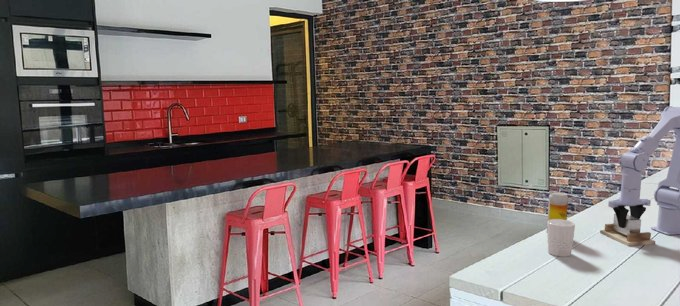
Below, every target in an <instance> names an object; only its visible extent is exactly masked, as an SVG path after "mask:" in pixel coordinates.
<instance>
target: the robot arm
mask: <svg viewBox="0 0 680 306" xmlns="http://www.w3.org/2000/svg"><path fill="white" fill-rule="evenodd" d="M670 131H673V132H674V133H675V135H676V138H675V141H674V146H673V150H672V153H671V158H670V163H669V167H668V171H667V175H666V178H664V179H663V180H661V181H659V182H658V185H657V187H656V189H655V191H654V194H653V197H654V201H655V202H656V206H658V213H657V214H658V215H657V223H656V226H651V227H650V229H652V230H654V231H657V232H659V233H661V234H665V235H668V236H672V235H680V106H678V107H677V106H671V105H669V106H666V107H665V108H664V109H663V111H662V112H661V113H660V120H659V121H658V123H657V124H656V125H655V126H654V128H653V129H652V131H651V132H650V133H649V135H643V136H642V137H641V138H640V139H639V140H638V141H637V143H636V144H635V145H634V146H633V147H632V148H631V149H630V150H629V151H626V152H624V153H622V154H621V156H620V158H619V160H618V164H619V167H620V172H621V174H622V175H621V186H620V197H619V198H618V199H613V200H608V205H607V206H608V207H609V208H612V210H613V211H614V214H616V216H617V220H618V225H619V227H621V228H624V227H625V223H626V217H627V215H630V216H632V217H635V218H638V219H640V220H641V218H642V215H643V214H644V213H645V212H646V210H647V206H648V207H650V206H651V199H649V198H640V197H641V189H642V188H641V186H642V177H643V171H644V170H646V168H647V166H648V161H650V157H651V156H652V155H653V154H654V153H655V151H657V149H658V148H659V141H661V139H663V138H664V137H665V136H666V135H667V134H668V133H669V132H670ZM645 206H646V207H645ZM626 207H628V208H629V209H628V208H626ZM629 212H630V214H629Z"/></svg>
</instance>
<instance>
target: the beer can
mask: <svg viewBox="0 0 680 306" xmlns="http://www.w3.org/2000/svg"><path fill="white" fill-rule="evenodd" d="M568 203H569V197H568V194H567V193H565V192H562V191H560V192H559V191H554V192H553V191H552V192H549V195H548V207H547V223H546V224H547V225H546V233H547V235H548V220H551V219H562V220H568Z"/></svg>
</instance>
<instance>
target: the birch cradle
mask: <svg viewBox="0 0 680 306" xmlns="http://www.w3.org/2000/svg"><path fill="white" fill-rule="evenodd" d="M599 233H600V234H601V235H604V236H605V237H608V238H610V239H612V240H615V241H617V242H619V243H621V244H624V245H626V246H628V247H630V246H631V247H632V246H645V245H647V246H648V245H655V244H656V241H655V240H654V239H651V235H652V233H651V232H649V231H647V232H644V231H643V232H640V233H628V234H627V235H625V234H622V233H620V232H618V231H615V230H613V223H605V224H604V229H601V230H599Z"/></svg>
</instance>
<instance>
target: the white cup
mask: <svg viewBox="0 0 680 306" xmlns="http://www.w3.org/2000/svg"><path fill="white" fill-rule="evenodd" d="M547 221H548V234H547V253H548V254H550V255H552V256H554V257H562V258H565V257H566V258H567V257H570V256H571V255H572V249H573V245H574V237H575V236H574V235H575V229H576V223H575V222H573V221H571V220H568V219H567V220H562V219H551V220H548V219H547Z"/></svg>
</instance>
